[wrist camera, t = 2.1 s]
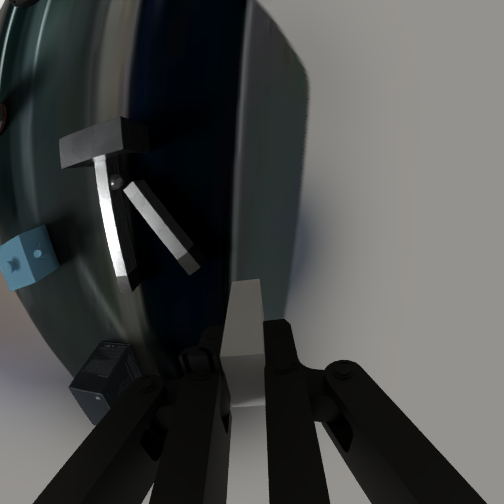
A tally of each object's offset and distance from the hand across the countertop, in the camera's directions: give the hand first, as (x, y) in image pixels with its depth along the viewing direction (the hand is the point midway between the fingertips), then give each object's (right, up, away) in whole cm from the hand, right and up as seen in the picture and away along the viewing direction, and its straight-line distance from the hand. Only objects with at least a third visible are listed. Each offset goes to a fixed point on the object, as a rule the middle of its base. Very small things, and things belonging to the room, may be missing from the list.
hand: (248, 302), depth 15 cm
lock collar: (-14, +15, +11) cm, 23 cm away
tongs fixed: (-14, +6, +13) cm, 20 cm away
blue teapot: (-29, +3, +15) cm, 32 cm away
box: (-19, -14, +20) cm, 31 cm away
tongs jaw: (-9, +6, +13) cm, 17 cm away
